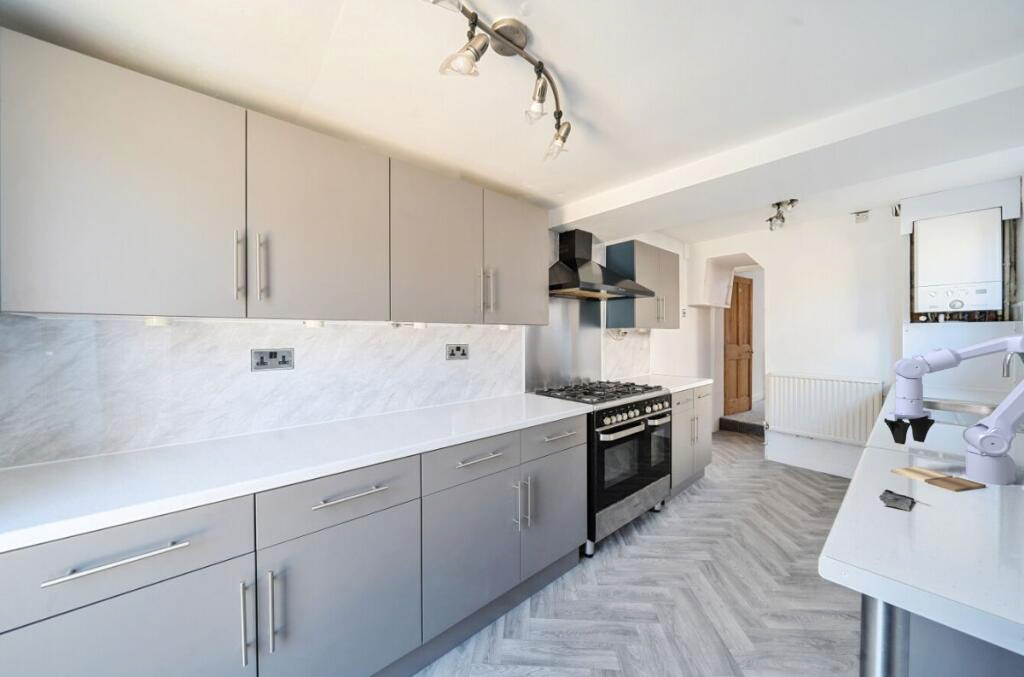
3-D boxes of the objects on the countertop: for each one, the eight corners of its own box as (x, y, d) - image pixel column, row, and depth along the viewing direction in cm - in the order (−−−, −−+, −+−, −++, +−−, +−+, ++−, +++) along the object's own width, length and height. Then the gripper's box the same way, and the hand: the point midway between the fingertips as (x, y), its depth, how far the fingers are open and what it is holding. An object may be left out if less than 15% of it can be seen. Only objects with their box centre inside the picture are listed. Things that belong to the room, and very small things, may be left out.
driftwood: (908, 515, 89) (908, 506, 89) (869, 504, 95) (869, 496, 95) (928, 494, 100) (928, 486, 100) (893, 486, 106) (893, 478, 106)
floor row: (913, 471, 114) (913, 464, 114) (985, 491, 99) (985, 484, 99) (885, 474, 112) (885, 468, 112) (955, 496, 97) (955, 489, 97)
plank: (917, 471, 113) (917, 466, 113) (952, 480, 106) (952, 475, 105) (891, 474, 111) (890, 469, 111) (924, 484, 103) (924, 479, 103)
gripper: (910, 394, 118) (911, 437, 118) (874, 397, 115) (875, 440, 115) (940, 398, 111) (940, 443, 111) (902, 401, 108) (903, 447, 108)
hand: (909, 442), depth 113 cm, fingers open, 7 cm apart
